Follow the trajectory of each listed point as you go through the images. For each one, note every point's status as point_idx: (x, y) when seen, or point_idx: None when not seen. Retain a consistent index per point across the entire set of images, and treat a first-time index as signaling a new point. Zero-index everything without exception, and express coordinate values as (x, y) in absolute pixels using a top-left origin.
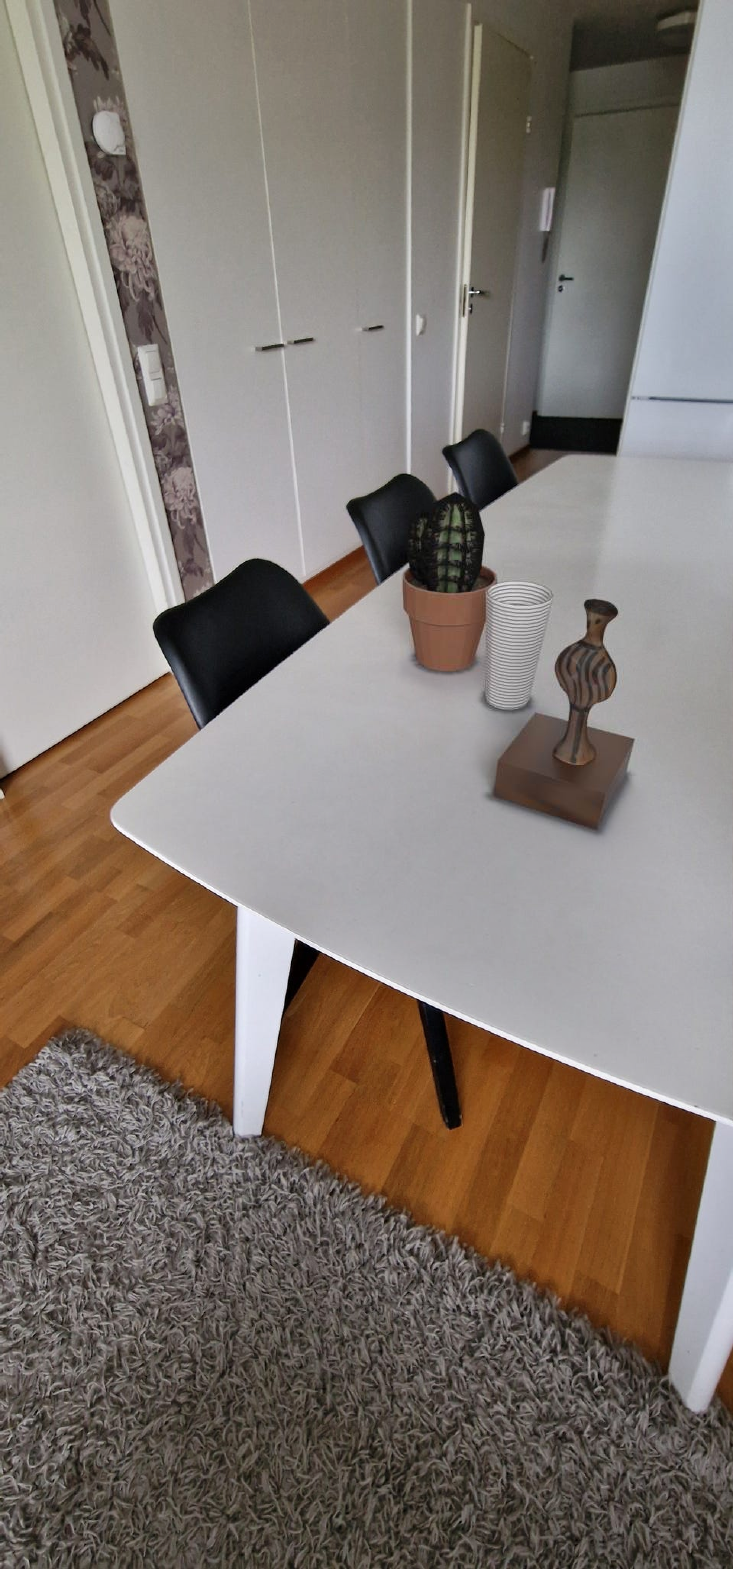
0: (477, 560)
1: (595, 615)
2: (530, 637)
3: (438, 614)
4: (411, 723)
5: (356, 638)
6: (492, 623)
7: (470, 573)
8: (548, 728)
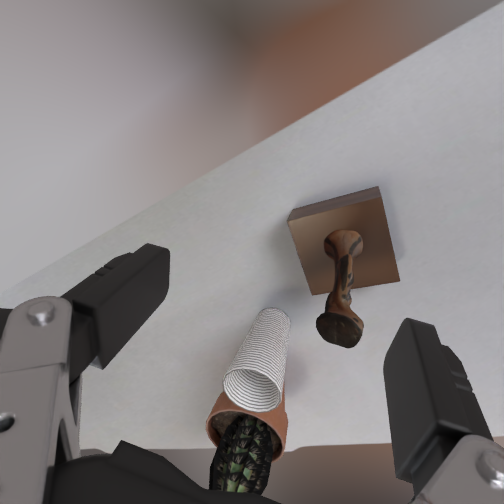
0: (236, 439)
1: (360, 327)
2: (267, 350)
3: (280, 415)
4: (354, 351)
5: (288, 431)
6: (283, 382)
7: (240, 431)
8: (325, 276)
